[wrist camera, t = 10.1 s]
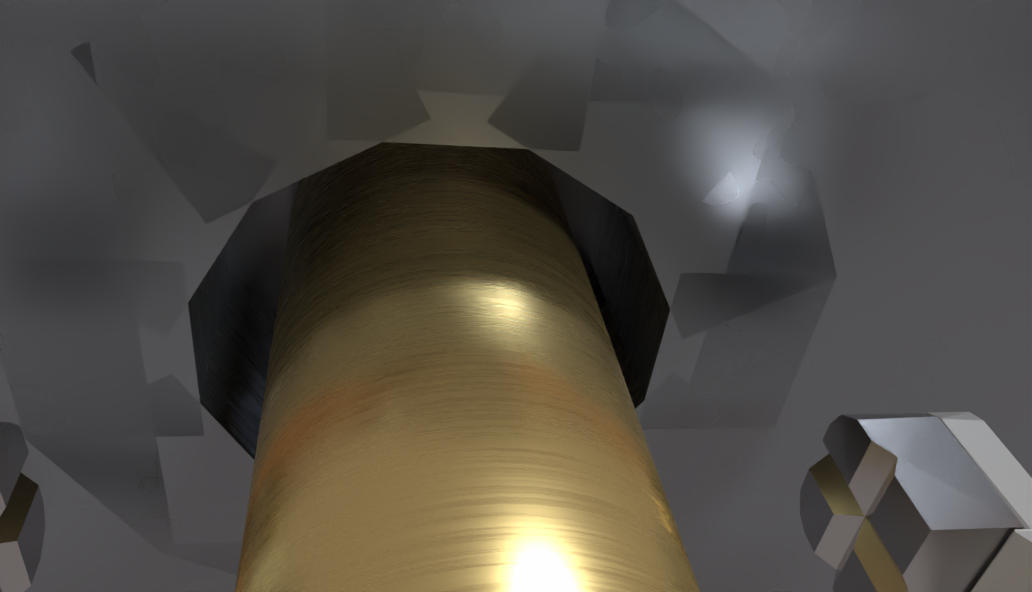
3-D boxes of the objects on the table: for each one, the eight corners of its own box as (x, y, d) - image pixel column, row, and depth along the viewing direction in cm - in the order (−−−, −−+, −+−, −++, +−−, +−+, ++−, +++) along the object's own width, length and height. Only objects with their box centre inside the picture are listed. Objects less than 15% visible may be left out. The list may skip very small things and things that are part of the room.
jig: (1190, -204, 11) (1509, -155, 8) (852, 465, 19) (952, 627, 16) (-149, -407, 8) (-461, -456, 5) (78, 485, 16) (7, 688, 13)
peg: (582, 117, 12) (831, 643, 5) (541, 340, 14) (683, 894, 8) (286, 98, 11) (170, 679, 5) (294, 337, 13) (223, 946, 7)
